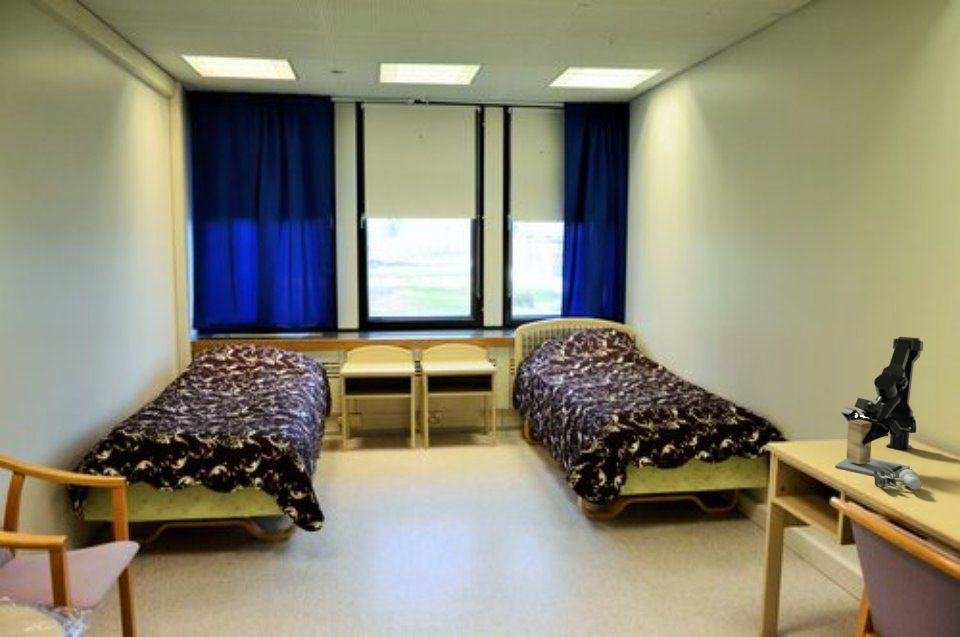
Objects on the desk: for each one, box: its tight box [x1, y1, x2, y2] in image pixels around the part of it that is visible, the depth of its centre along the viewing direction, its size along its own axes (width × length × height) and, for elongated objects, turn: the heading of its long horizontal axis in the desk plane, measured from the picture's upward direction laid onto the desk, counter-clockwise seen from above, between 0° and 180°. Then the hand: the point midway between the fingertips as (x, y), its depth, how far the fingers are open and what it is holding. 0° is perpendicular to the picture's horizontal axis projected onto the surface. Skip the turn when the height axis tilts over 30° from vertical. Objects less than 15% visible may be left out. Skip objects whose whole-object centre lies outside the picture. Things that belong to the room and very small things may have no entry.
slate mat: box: [834, 457, 911, 478], centre depth 223 cm, size 16×17×1 cm
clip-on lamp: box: [873, 459, 922, 492], centre depth 207 cm, size 12×6×18 cm
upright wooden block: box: [845, 419, 872, 464], centre depth 224 cm, size 5×5×13 cm
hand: (856, 441), depth 224 cm, fingers closed on upright wooden block, 5 cm apart
